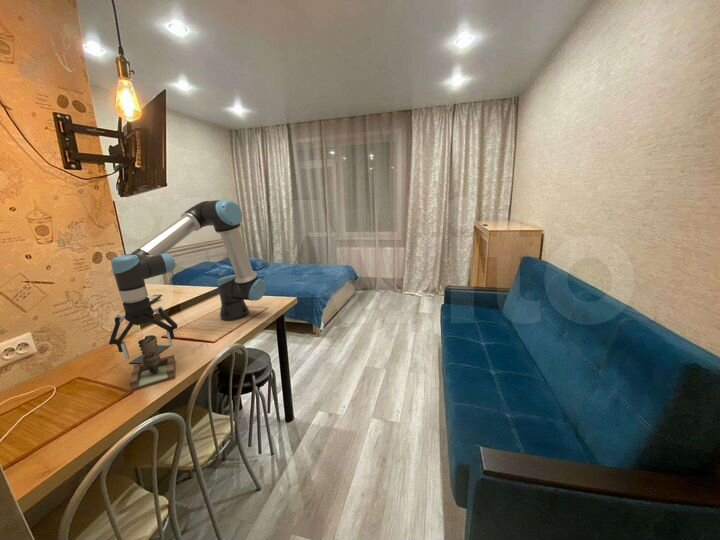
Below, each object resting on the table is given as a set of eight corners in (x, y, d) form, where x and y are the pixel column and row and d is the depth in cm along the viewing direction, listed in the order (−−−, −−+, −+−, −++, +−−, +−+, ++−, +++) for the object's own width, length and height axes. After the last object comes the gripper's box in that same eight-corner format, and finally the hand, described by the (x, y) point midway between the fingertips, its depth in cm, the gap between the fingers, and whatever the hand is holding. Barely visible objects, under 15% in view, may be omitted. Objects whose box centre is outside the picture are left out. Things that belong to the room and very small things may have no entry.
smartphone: (170, 345, 132) (142, 363, 118) (171, 347, 132) (143, 365, 118) (157, 345, 133) (127, 362, 119) (157, 346, 133) (128, 364, 119)
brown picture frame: (175, 378, 107) (173, 369, 106) (131, 391, 101) (129, 382, 100) (175, 362, 118) (173, 354, 117) (136, 373, 112) (134, 365, 111)
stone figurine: (162, 367, 113) (154, 331, 110) (166, 372, 109) (157, 336, 106) (145, 373, 109) (135, 337, 106) (148, 379, 105) (138, 341, 102)
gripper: (176, 288, 111) (188, 338, 117) (92, 304, 99) (109, 359, 104) (176, 294, 105) (189, 346, 110) (86, 311, 93) (105, 369, 98)
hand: (150, 352), depth 107 cm, fingers open, 13 cm apart
